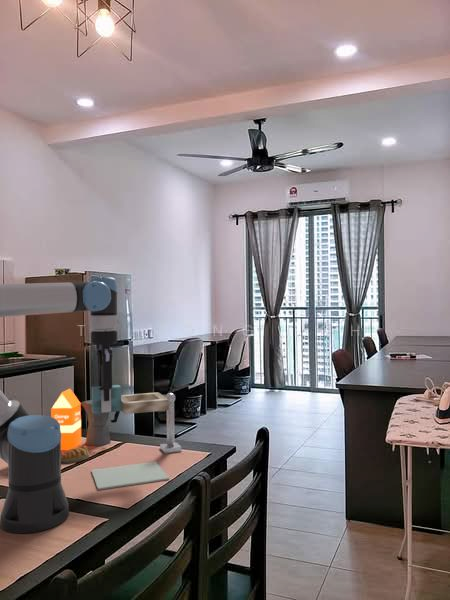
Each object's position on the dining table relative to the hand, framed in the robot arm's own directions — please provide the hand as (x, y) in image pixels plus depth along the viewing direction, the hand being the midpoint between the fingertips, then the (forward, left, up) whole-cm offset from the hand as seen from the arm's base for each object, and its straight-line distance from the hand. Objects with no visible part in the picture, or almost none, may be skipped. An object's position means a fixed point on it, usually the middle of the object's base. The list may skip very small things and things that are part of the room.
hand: (105, 410), depth 142 cm
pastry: (-7, +22, -20) cm, 31 cm away
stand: (+25, +19, -20) cm, 37 cm away
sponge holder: (+7, 0, 0) cm, 7 cm away
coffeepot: (+4, +38, -20) cm, 44 cm away
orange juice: (-8, +38, -20) cm, 44 cm away
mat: (+7, 0, -20) cm, 21 cm away
